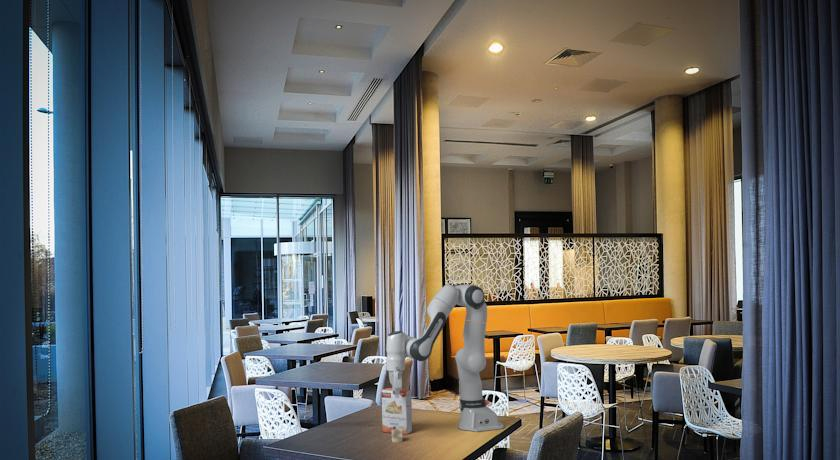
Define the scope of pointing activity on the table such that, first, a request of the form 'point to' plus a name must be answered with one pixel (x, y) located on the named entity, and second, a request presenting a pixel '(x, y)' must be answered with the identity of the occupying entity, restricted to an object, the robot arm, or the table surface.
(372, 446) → the table surface
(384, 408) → the cracker box
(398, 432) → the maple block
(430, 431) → the table surface
